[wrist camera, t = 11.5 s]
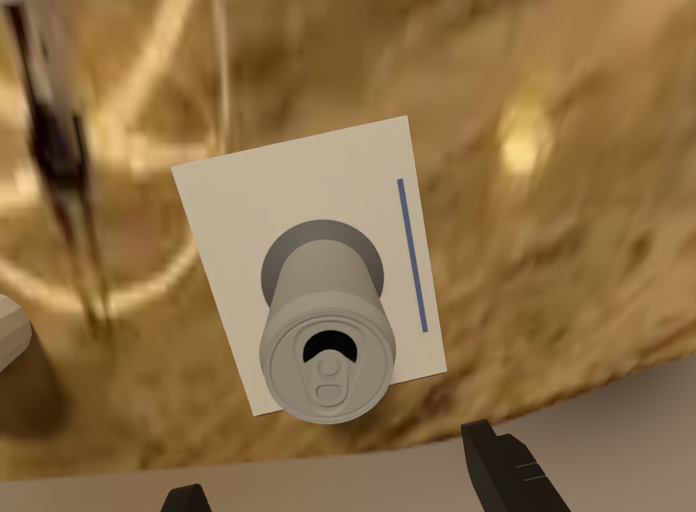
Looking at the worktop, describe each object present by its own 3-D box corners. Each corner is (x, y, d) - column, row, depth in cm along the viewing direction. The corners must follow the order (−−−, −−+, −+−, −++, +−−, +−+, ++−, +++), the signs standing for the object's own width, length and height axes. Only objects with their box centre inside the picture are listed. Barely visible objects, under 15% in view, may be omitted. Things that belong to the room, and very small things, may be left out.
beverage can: (370, 238, 28) (408, 303, 16) (364, 320, 29) (396, 432, 18) (280, 235, 27) (253, 300, 15) (280, 319, 29) (255, 434, 17)
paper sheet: (406, 115, 26) (407, 114, 25) (445, 369, 31) (447, 372, 31) (171, 166, 26) (169, 166, 25) (254, 413, 31) (253, 417, 31)
